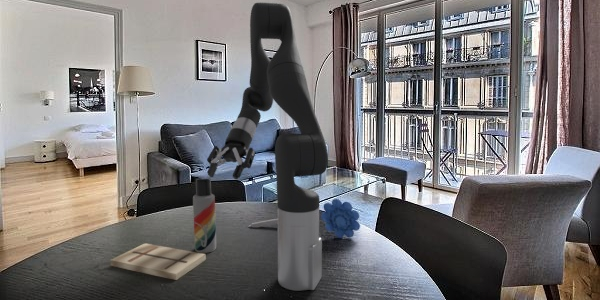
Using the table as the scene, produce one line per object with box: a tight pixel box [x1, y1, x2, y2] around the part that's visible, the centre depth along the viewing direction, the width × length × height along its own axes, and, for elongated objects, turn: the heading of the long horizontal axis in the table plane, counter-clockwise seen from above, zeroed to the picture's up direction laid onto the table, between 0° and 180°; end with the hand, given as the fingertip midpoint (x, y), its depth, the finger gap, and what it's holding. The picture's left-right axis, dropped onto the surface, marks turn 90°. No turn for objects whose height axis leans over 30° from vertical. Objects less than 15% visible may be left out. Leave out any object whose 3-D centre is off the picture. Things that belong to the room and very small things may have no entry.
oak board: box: [110, 242, 207, 281], centre depth 85 cm, size 20×11×2 cm, turn 70°
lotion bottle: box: [192, 177, 217, 254], centre depth 92 cm, size 6×6×20 cm
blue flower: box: [320, 198, 361, 239], centre depth 100 cm, size 12×7×12 cm, turn 83°
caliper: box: [247, 218, 278, 228], centre depth 110 cm, size 20×1×6 cm, turn 89°
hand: (222, 176), depth 100 cm, fingers open, 8 cm apart
